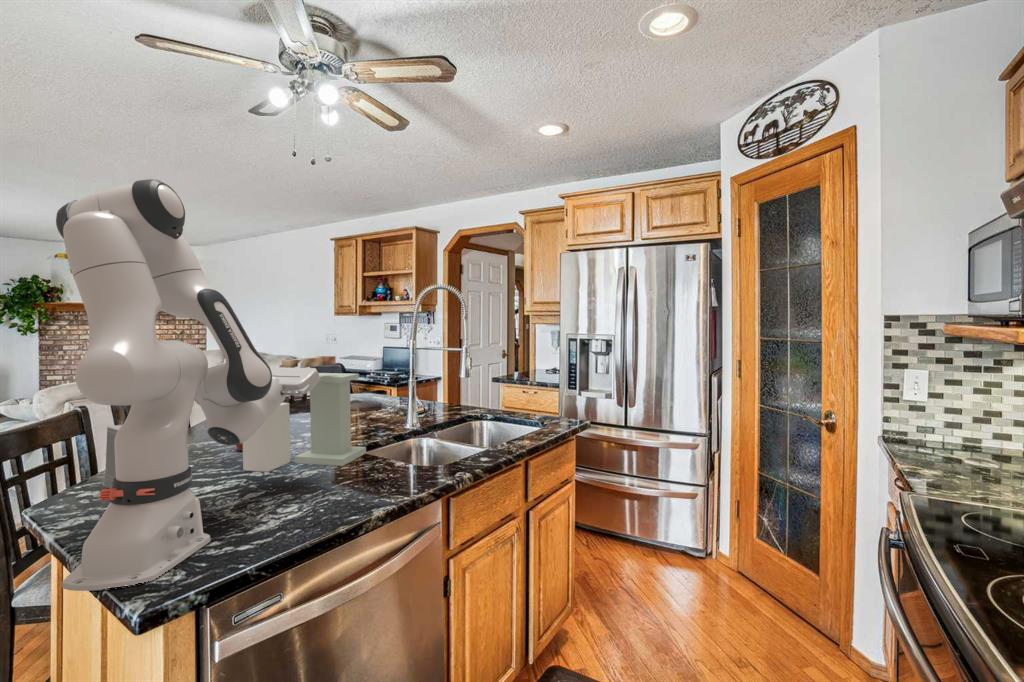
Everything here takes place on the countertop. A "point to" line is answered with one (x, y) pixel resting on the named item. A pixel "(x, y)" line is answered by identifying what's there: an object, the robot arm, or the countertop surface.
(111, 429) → the skincare box
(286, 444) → the rest block
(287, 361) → the bar
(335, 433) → the shelf stand
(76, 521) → the countertop surface
